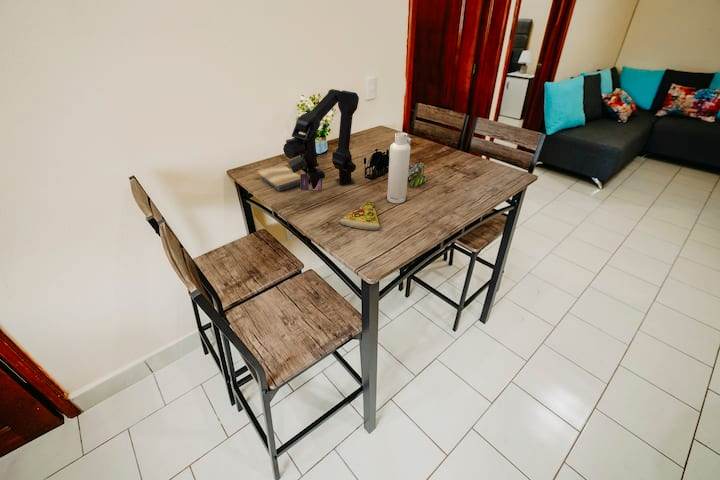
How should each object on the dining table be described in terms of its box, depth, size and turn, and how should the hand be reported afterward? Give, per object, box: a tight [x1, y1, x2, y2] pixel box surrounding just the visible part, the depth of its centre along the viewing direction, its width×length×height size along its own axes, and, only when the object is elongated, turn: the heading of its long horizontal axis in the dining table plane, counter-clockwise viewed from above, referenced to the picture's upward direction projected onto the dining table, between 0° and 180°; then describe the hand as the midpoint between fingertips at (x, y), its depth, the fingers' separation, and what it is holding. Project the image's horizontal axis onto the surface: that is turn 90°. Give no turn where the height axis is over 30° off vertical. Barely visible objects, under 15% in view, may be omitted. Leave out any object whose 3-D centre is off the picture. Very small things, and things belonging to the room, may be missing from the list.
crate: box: [262, 177, 300, 192], centre depth 157 cm, size 16×10×3 cm, turn 40°
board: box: [256, 163, 301, 188], centre depth 156 cm, size 20×13×1 cm, turn 40°
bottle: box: [386, 131, 412, 204], centre depth 137 cm, size 8×8×28 cm
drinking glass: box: [407, 136, 412, 146], centre depth 180 cm, size 7×7×10 cm
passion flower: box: [407, 162, 429, 188], centre depth 156 cm, size 11×11×12 cm
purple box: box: [299, 173, 323, 192], centre depth 141 cm, size 7×5×9 cm
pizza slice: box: [340, 200, 381, 231], centre depth 133 cm, size 16×21×3 cm
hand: (312, 186), depth 141 cm, fingers closed on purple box, 4 cm apart
